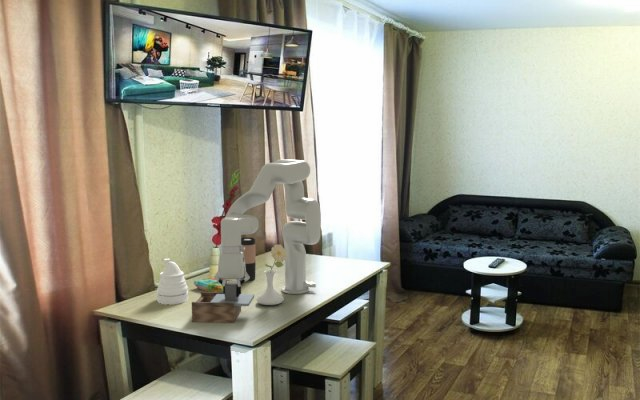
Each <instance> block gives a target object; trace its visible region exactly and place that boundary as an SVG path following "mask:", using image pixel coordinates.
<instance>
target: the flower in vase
mask: <svg viewBox="0 0 640 400" xmlns="http://www.w3.org/2000/svg"><path fill="white" fill-rule="evenodd" d="M270 253H271V257H272V258H273V260H274V262H273V264H272V265H269V264H267V263H264V265H265V267H266V268H270V269H266V270H263V273H264V274H265V276H266V282H267V284H266V289H265V290H264V291H262V292H261V293H260V294H259V295H258V296H257V298H256V301H257V303H258V304H260V305H265V306H276V305H279V304H281V303H283V302H284V300H285V298H284V296H283V295H282V294H281V293H280V292H278V291H277V290H276V289H275V288H274V284H273V281H274V276H275V274H276V272H277V270H275V269H274V266H275V267H277V268H281V267H283V266H284V264H283V262H284V261H285V259H287V257H286V256H287V254H286V253H287V252H286V250H285V247H283V245H282V244H280V243H279V244H277V243H276V244H275V245H274V246H272V247H271V252H270Z"/></svg>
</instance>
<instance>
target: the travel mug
mask: <svg viewBox="0 0 640 400" xmlns="http://www.w3.org/2000/svg"><path fill="white" fill-rule="evenodd" d="M241 246H243V247H245V250H243V251H241V252H243V253H244V258H245V268H246V272H247V274H248V275H249V276H250V279H249V280H247V281H246V282H252V281H255V280H256V263H257V262H256V239H255V238H254V237H251V236H250V237H249V236H248V237H247V236H246V237H241ZM244 278H245V276H244V277H243V278H242V279H244ZM242 279H241V280H242Z"/></svg>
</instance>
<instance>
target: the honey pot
mask: <svg viewBox="0 0 640 400" xmlns="http://www.w3.org/2000/svg"><path fill="white" fill-rule="evenodd" d="M163 262H164V263H165V264H166V265H165V267H164V269H163V271H162V272H161V271H160V273H159V277H160V279H159V282H158V285H157V288H156V301H157V303H158V304H160V303H161V304H160V305H167V304H169V305H179V304H182V303H185V302H188V300H189V286H188V285H187V282H186V278H185V277H184V275H185V274H184V271H183V270H181V269H180V267H179V266H178V264H177V263H176V262H174V261H171V258H164V259H163Z"/></svg>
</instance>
